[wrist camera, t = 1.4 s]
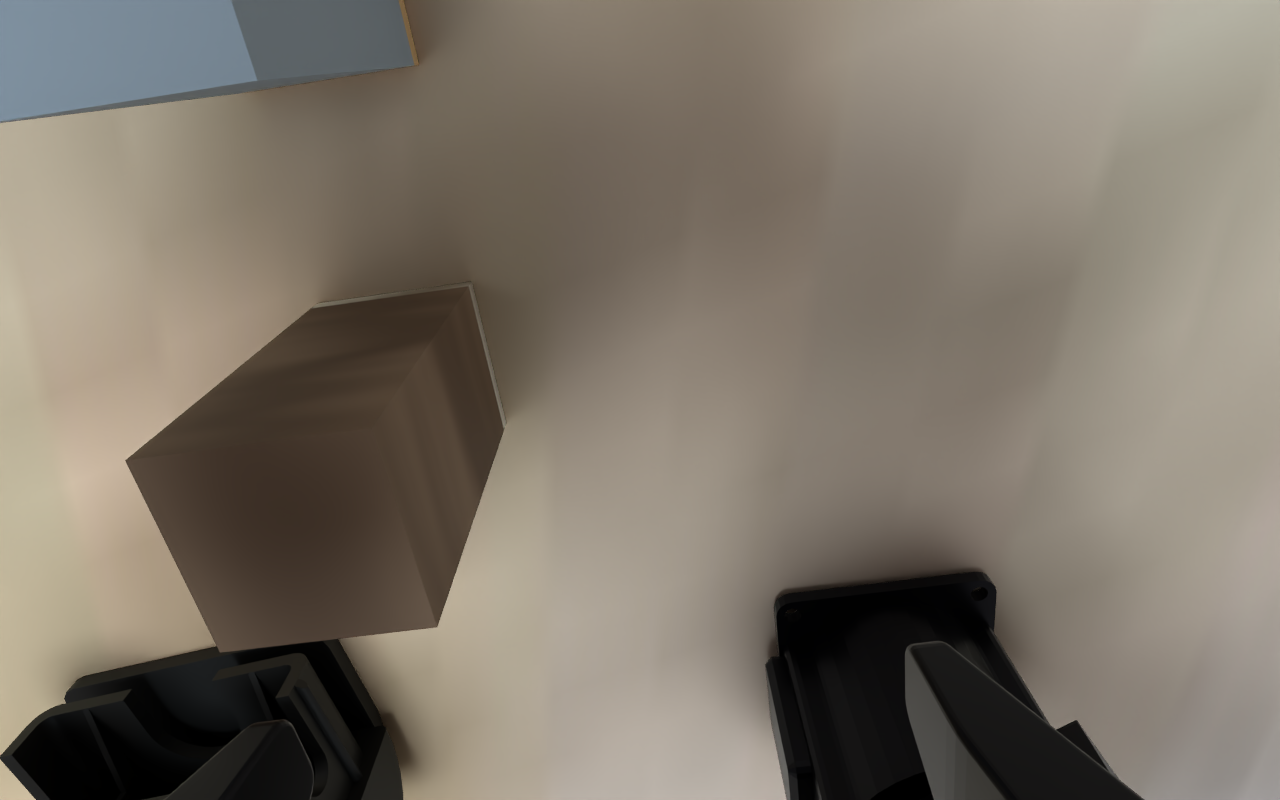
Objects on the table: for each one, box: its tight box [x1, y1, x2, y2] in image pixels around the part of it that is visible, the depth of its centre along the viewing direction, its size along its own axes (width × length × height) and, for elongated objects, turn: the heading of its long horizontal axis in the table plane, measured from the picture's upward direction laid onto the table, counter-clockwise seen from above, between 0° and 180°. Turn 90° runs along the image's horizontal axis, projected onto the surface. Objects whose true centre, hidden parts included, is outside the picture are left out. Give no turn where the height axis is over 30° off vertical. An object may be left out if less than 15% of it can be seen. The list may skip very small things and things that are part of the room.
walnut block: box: [125, 282, 506, 653], centre depth 16 cm, size 4×4×8 cm
